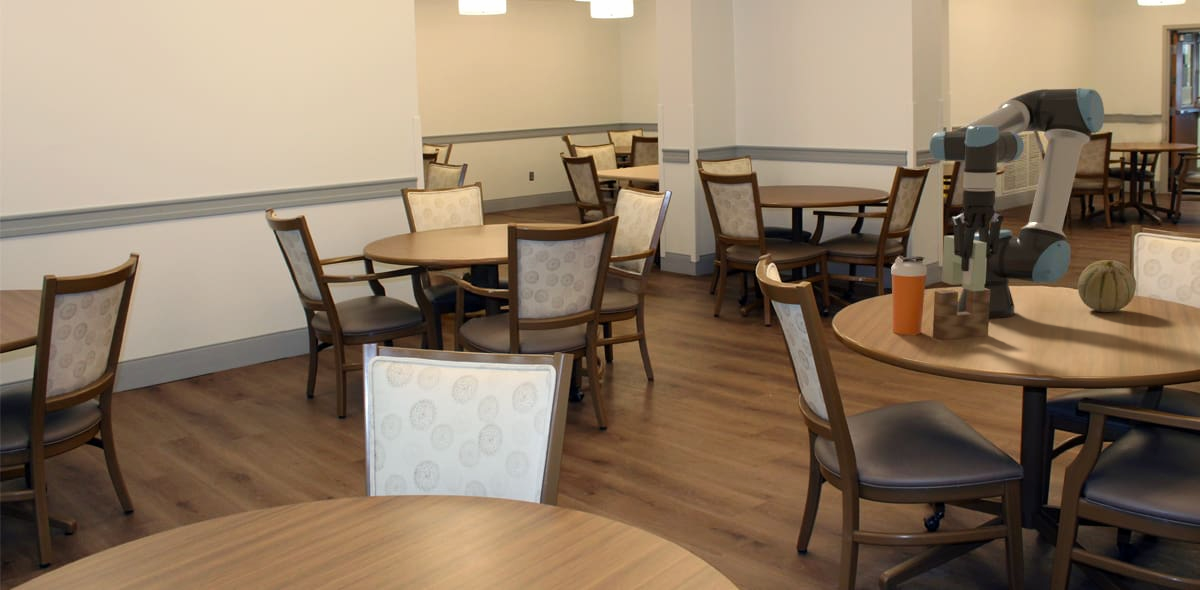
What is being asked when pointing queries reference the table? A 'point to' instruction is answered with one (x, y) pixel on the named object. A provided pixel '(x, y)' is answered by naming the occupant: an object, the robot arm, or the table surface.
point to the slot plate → (953, 265)
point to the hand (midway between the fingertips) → (974, 283)
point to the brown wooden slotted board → (961, 314)
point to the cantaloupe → (1107, 286)
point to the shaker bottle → (908, 294)
